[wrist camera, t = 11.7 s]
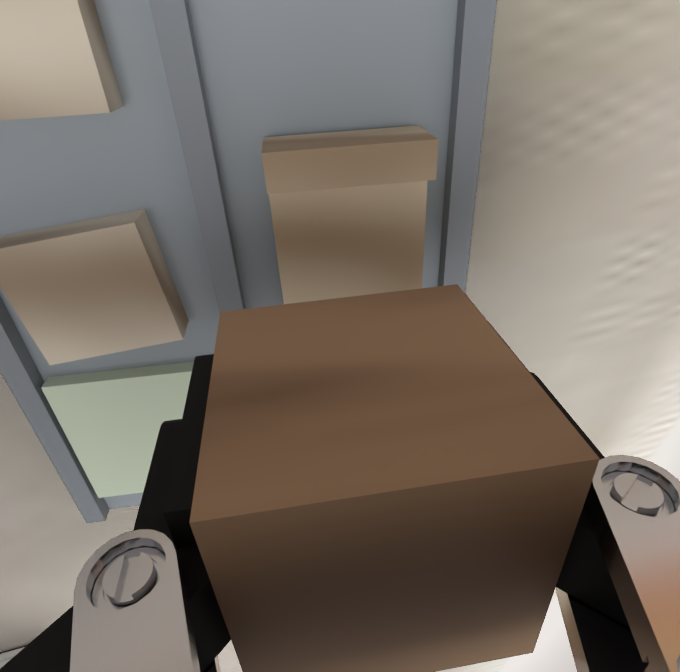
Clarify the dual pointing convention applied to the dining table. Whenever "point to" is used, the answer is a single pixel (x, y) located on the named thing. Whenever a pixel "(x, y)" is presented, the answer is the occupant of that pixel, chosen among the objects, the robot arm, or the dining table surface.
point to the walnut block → (381, 486)
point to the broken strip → (84, 236)
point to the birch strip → (349, 210)
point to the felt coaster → (118, 419)
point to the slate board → (236, 155)
